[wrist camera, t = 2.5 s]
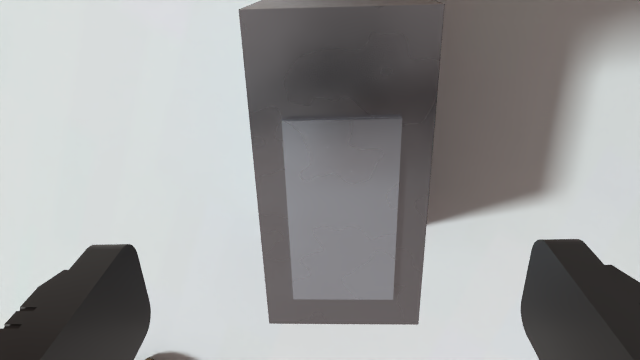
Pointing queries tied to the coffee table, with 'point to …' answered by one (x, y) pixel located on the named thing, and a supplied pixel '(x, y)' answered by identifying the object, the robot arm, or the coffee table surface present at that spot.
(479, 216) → the coffee table surface
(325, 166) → the block
